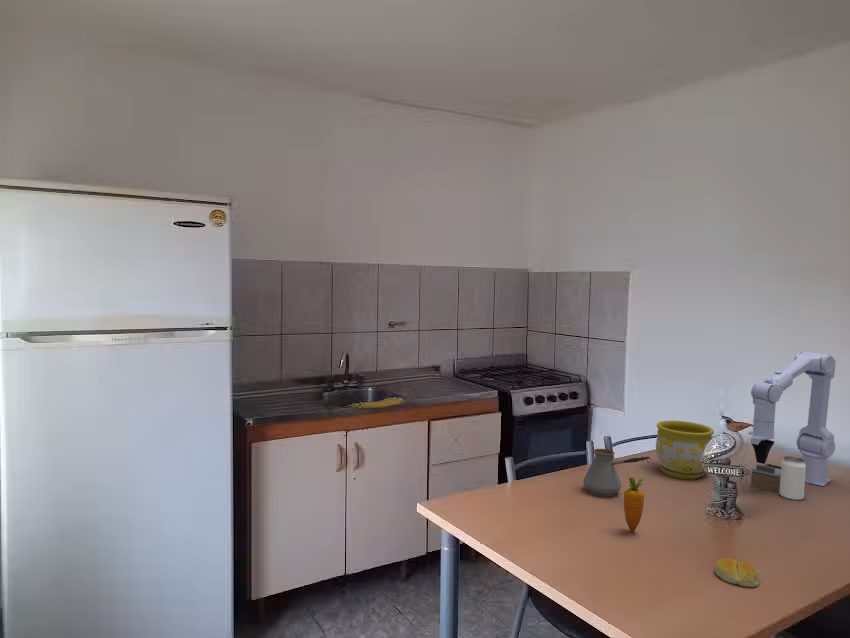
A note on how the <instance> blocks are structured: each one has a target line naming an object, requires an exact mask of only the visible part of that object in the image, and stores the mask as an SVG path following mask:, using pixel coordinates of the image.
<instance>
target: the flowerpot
mask: <svg viewBox="0 0 850 638" xmlns="http://www.w3.org/2000/svg"><path fill="white" fill-rule="evenodd" d="M656 428H657V437H656V440H655V441H656V442H655V453H656V457H657V459H658V461H659V463H660V465H659V467H660V469H661V470H662V472H663V473H664V474H666V475H668V476H670V477H673V478H677V479H682V478H684V480H695V479H694V478H698V479H700V478H699V477H701V476H702V477H703V476H704V475H706V472H705V473H704V471H705V470H704V468H703V466H702V464H701V463H700V459H701V457H702V454H703V452H704V449H705V447H706V445H707V444H708V442H709V441H710V440H711V439H712V440H713V435H714V433H715V432H714V431H715V430H714V429H713V428H712V427H710V426H707V425H706V424H702V423H697V422H691V421H685V420H662V421H659V422H657V423H656ZM702 477H701V478H702Z"/></svg>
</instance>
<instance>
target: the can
mask: <svg viewBox="0 0 850 638" xmlns="http://www.w3.org/2000/svg"><path fill="white" fill-rule="evenodd" d="M782 458H783V459H782V460H781V465H780V466H781V476H780V490H779V491H778V492H779V495H780V496H781V497H782V498H785V499H786V500H787V499H788V500H790V501H791V500H793V501H802V500H803V499H804V498H805V497H804V496H805V495H804V494H805V487H806V485H805V484H806V482H805V472H806V465H805V463H804V461H805V460H803V459H802V457H797V456H791V455H790V456H789V455H787V456H783V457H782Z"/></svg>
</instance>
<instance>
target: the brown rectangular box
mask: <svg viewBox="0 0 850 638" xmlns="http://www.w3.org/2000/svg"><path fill="white" fill-rule="evenodd" d="M763 465H764V466H769V467H773V468H777V469H781V465H776V464H771V463H765V464H763ZM780 476H781V475H780ZM780 476H779V477H774V476H770V475H766V474H762V473H758V472H753V471H751V478H750V486H751V487H753V488H754V487H755V488H758V489H762V490H766V491H769V492H770V491H771V492H774V493H778V492H779V491H780Z"/></svg>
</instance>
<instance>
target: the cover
mask: <svg viewBox="0 0 850 638" xmlns="http://www.w3.org/2000/svg"><path fill="white" fill-rule="evenodd" d="M764 465H765V464H760V463H757V464H756V466H754V467H752V468H751V472H758V473H762V474H766V475H770V476H774V477H779V476H780V475H781V469H777V468H773V467H769V466H764Z"/></svg>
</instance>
